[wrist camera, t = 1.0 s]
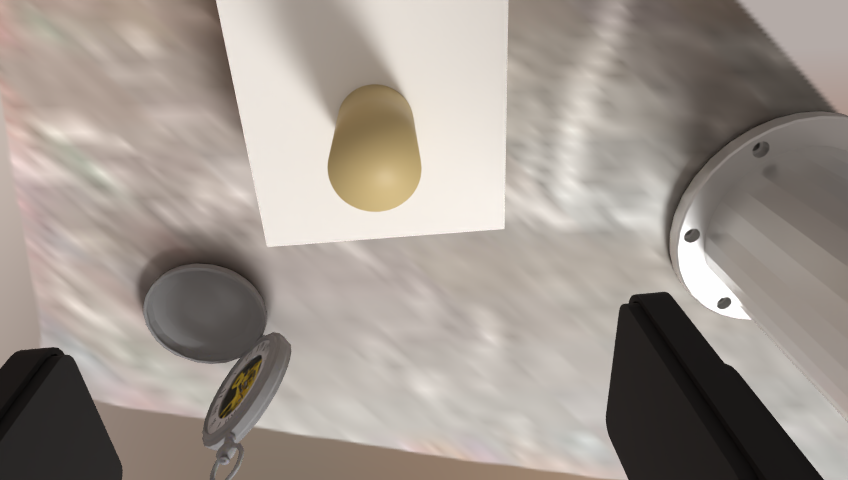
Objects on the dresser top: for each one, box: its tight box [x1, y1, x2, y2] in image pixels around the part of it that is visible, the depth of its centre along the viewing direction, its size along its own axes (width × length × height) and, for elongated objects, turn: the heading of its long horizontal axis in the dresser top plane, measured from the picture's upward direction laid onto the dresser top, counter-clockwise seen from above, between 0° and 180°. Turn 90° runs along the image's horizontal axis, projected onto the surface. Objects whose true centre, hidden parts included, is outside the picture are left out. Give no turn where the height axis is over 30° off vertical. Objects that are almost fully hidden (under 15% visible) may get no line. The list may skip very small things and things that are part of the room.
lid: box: [216, 0, 508, 247], centre depth 21 cm, size 10×10×6 cm
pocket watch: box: [144, 263, 291, 480], centre depth 30 cm, size 8×8×10 cm
